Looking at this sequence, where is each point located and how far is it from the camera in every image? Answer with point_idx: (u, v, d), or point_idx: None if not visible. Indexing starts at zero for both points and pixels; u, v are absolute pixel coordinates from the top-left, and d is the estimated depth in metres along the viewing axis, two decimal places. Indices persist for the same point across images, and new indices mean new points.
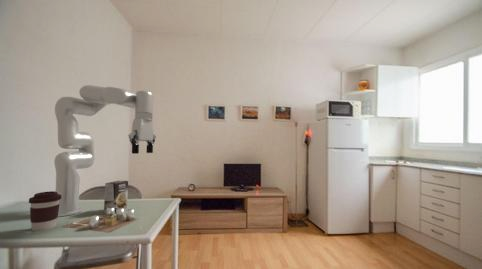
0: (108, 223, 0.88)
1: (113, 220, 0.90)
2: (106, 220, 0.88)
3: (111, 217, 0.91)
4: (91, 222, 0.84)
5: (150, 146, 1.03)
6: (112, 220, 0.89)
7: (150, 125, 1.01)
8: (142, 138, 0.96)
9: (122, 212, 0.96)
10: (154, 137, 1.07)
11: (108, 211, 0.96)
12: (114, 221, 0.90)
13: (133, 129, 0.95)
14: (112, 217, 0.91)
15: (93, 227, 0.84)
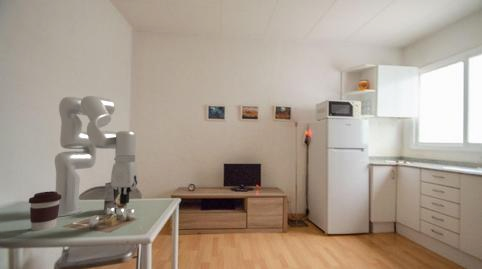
0: (108, 223, 0.88)
1: (113, 220, 0.90)
2: (106, 220, 0.88)
3: (111, 217, 0.91)
4: (91, 222, 0.84)
5: None
6: (112, 220, 0.89)
7: None
8: None
9: (122, 212, 0.96)
10: None
11: (108, 211, 0.96)
12: (114, 221, 0.90)
13: (132, 175, 0.88)
14: (112, 217, 0.91)
15: (93, 227, 0.84)
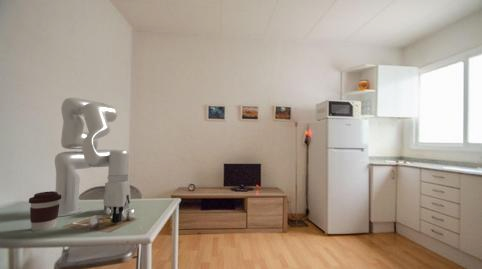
0: (107, 223, 0.88)
1: None
2: (105, 220, 0.88)
3: (110, 217, 0.91)
4: (91, 222, 0.84)
5: None
6: (111, 220, 0.89)
7: None
8: None
9: (122, 212, 0.96)
10: None
11: (108, 211, 0.96)
12: None
13: (125, 194, 0.88)
14: (111, 217, 0.91)
15: (93, 227, 0.84)
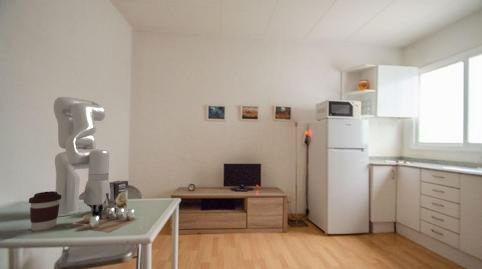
0: (87, 221, 0.91)
1: None
2: (85, 218, 0.91)
3: (90, 215, 0.94)
4: (91, 222, 0.84)
5: None
6: None
7: None
8: None
9: (122, 212, 0.96)
10: None
11: (108, 211, 0.96)
12: None
13: (104, 193, 0.91)
14: (91, 215, 0.93)
15: (93, 227, 0.84)
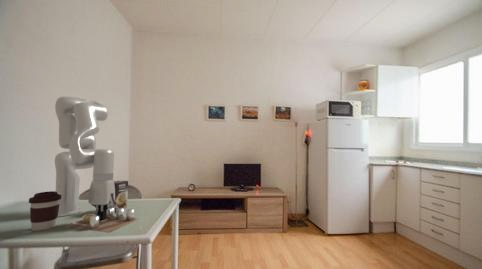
0: (86, 221, 0.91)
1: None
2: (84, 218, 0.91)
3: (90, 215, 0.94)
4: (91, 222, 0.84)
5: None
6: None
7: None
8: None
9: (122, 212, 0.96)
10: None
11: (108, 211, 0.96)
12: None
13: (109, 193, 0.90)
14: (90, 215, 0.94)
15: (93, 227, 0.84)
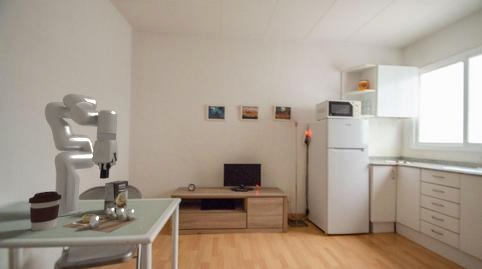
0: (86, 221, 0.91)
1: None
2: (84, 218, 0.91)
3: (90, 215, 0.94)
4: (91, 222, 0.84)
5: None
6: None
7: None
8: None
9: (122, 212, 0.96)
10: None
11: (108, 211, 0.96)
12: None
13: (112, 151, 0.93)
14: (90, 215, 0.94)
15: (93, 227, 0.84)
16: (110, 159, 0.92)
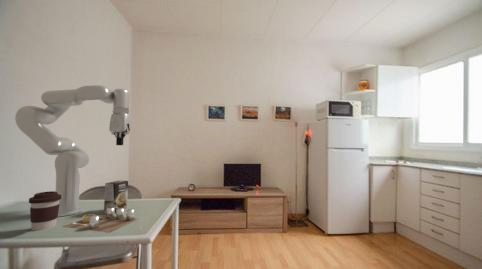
0: (86, 221, 0.91)
1: None
2: (84, 218, 0.91)
3: (90, 215, 0.94)
4: (91, 222, 0.84)
5: None
6: None
7: None
8: None
9: (122, 212, 0.96)
10: None
11: (108, 211, 0.96)
12: None
13: (126, 122, 1.13)
14: (90, 215, 0.94)
15: (93, 227, 0.84)
16: (125, 128, 1.12)
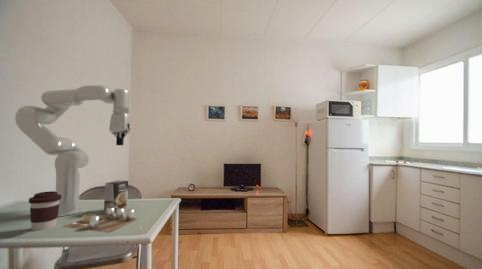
0: (86, 221, 0.91)
1: None
2: (84, 218, 0.91)
3: (90, 215, 0.94)
4: (91, 222, 0.84)
5: None
6: None
7: None
8: None
9: (122, 212, 0.96)
10: None
11: (108, 211, 0.96)
12: None
13: (126, 122, 1.13)
14: (90, 215, 0.94)
15: (93, 227, 0.84)
16: (125, 128, 1.12)
